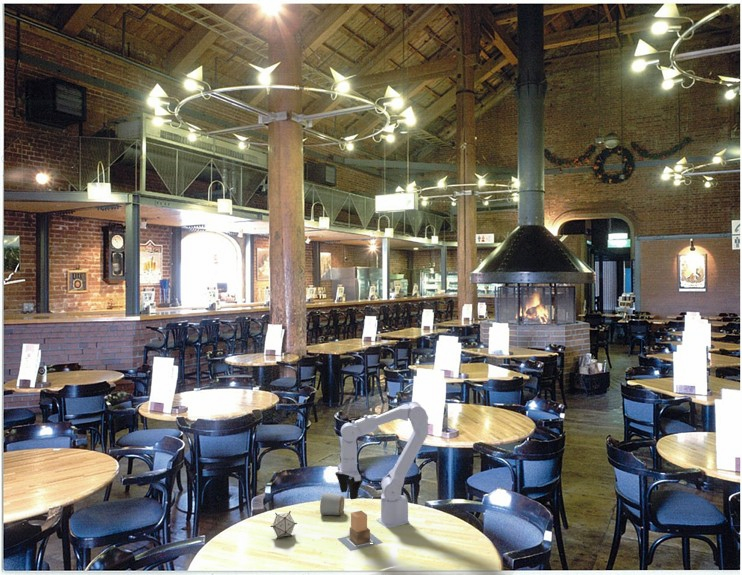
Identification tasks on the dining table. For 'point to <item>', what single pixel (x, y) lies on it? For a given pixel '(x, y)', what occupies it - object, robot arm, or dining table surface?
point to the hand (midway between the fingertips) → (348, 495)
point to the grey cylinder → (331, 504)
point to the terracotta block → (358, 521)
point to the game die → (283, 525)
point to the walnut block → (360, 536)
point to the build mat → (353, 546)
